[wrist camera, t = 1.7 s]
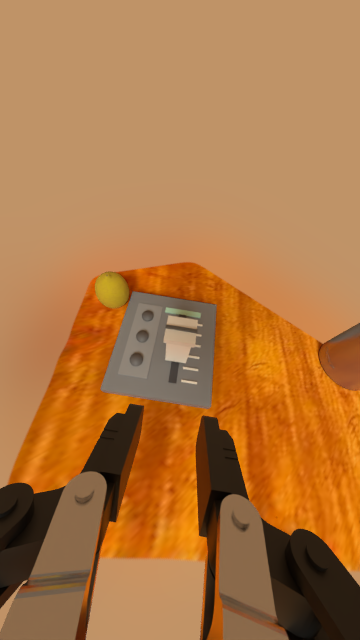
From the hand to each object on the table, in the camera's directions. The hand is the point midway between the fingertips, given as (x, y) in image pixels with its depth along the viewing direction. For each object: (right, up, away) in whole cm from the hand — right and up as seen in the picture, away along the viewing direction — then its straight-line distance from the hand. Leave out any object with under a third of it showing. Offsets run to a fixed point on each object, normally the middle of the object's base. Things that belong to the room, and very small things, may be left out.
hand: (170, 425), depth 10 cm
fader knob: (0, 0, +21) cm, 21 cm away
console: (-2, +1, +25) cm, 25 cm away
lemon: (-12, +8, +28) cm, 32 cm away
